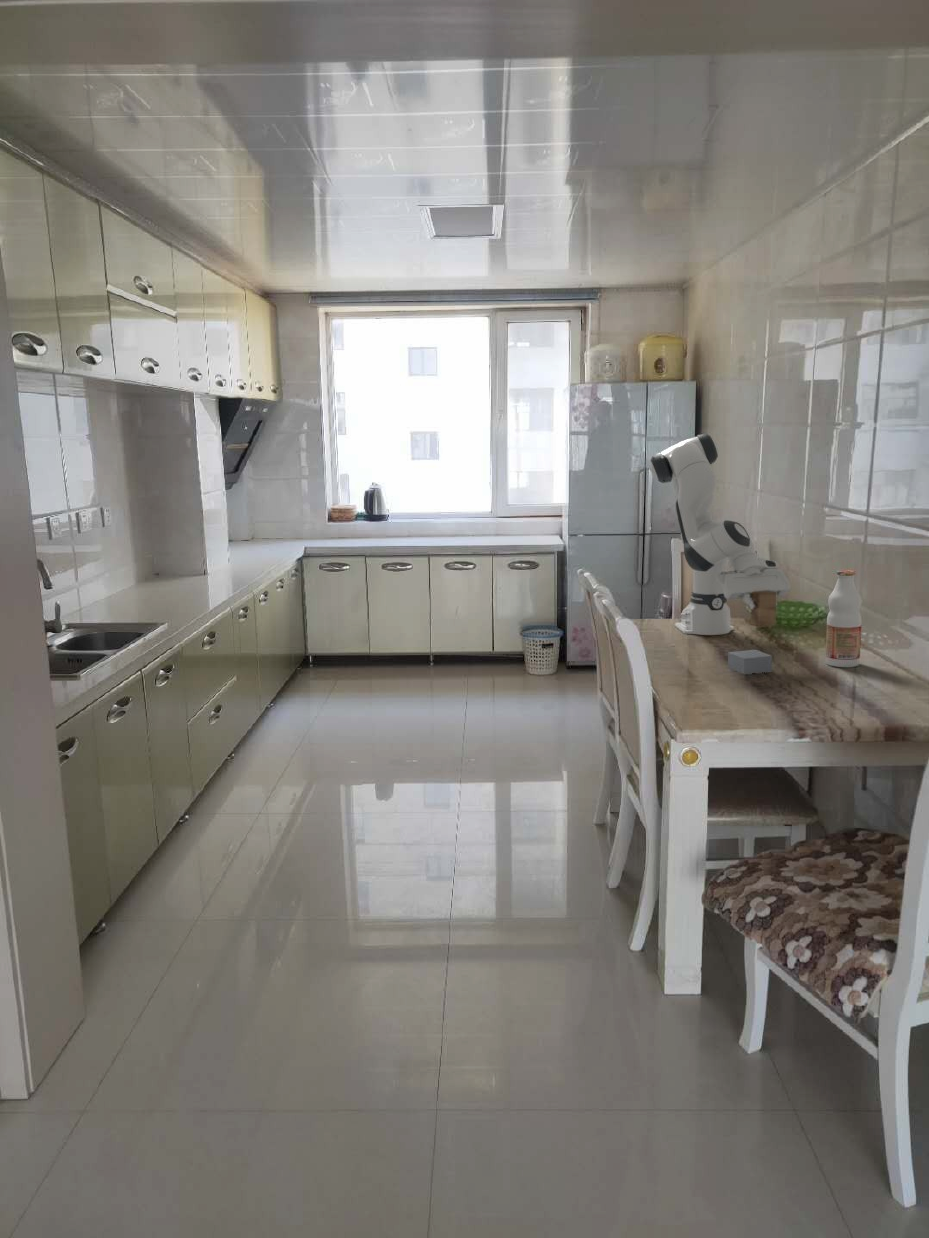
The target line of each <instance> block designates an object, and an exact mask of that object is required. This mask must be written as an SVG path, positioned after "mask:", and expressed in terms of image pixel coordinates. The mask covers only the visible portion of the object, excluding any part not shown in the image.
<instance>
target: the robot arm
mask: <svg viewBox="0 0 929 1238" xmlns="http://www.w3.org/2000/svg"><path fill="white" fill-rule="evenodd" d="M718 450H719V449H718V445H717V443H716V441H715V440H714V439H713V437H712V436H711V435H710V434H708V433H702V434H701V433H700V434H697V435H696V436H693V437H690V438H687V439H684V440H683V439H682V440H681V441H678V442H677V443H675V444H673V445H671V446H669V447H667V448H665V449H663V450H662V451H658V452H656V453H655V454H653V455H652V456H651V458H650V470H651V473H652V476H654V478H655V479H656V480H657V481H658V482H660V483H661V484H666V483H671V482H672V484H673V488H674V491H675V494H676V496H677V498H676V501H675V509H676V514H677V521H678V525H679V529H680V540H681V543H682V544H683V555H684V557H685V561H686V563H687V564H688V566H689V568H691V569H692V570H693V572H692V573H693V580H692V581H693V582H692V584H693V586H692V588H693V589H692V592H691V594H690V601H689V603H688V605H686V607H684V608H683V610H682V612H681V613H680V614H679V618H680V620H681V621H679V622H675V623H674V627H675V628H677V629H678V630H679V631H680V632H682V633H683V634H686V635H698V636H699V635H701V636H718V635H725V634H729V633H731V631H733V630H735V627H734V625H732V621H731V610H730V606H729V605H727V602H728V600H730V601H731V600H742V601H743V602H744V603H745V604H746V605H748V606H749V608H750V610H751V609H756V608H757V607H758V605H757V603H756V601H752V593H753V591H764V590H770V591H774V592H776V599H777V598H778V597H783V596H786V595H787V594H788V592H789V591H790V590H791V584H790V582H789V579H788V578H787V576H786V574H785V573H784V572H783V571H782V570H781V569H779V568H780V564H779V563H778V562H777V561H775V560H769V559H767V558H766V559H765V558H762V557H759V554H758V553H757V552H756V551H755V544H754V543H753V541H752V539H751V537H750V535H749V534H748V531H747V530H746V528H745V527H744V526H743V525H742V524H741V523H739V522H737V521H733V520H726V519H725V520H723V521H722V522H719V521H715V520H713V517H712V508H713V507H714V504H715V498H714V496H713V492H714V490H715V487H716V483H717V481H716V476H715V472H714V469H713V468H712V466H711V465H712V464H714V463H715V462H716V461H717V459H718V457H719V454H718V453H719V451H718ZM728 564H729V565H730V566H729V565H728ZM728 566H729V567H730V571H727V569H728ZM777 607H778V602H777V601H776V608H777Z"/></svg>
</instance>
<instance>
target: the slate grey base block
mask: <svg viewBox="0 0 929 1238" xmlns="http://www.w3.org/2000/svg"><path fill="white" fill-rule="evenodd" d="M727 668H728V669H729V670H732V669H733V671H734V670H735V672H736V671H737V673H739V674H741V673H742V674H741V675H743V674H744V675H743V676H745V675H746V674H747V675H753V674H752V673H756V674H765V673H771V672H772V670H773V669H772V668H773V655H772V654H768V653H766V652H763V651H760V650H757V649H749V650H746V649H745V650H738V651H728V652H727ZM762 672H763V673H762ZM764 672H765V673H764Z"/></svg>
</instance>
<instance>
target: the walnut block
mask: <svg viewBox="0 0 929 1238" xmlns="http://www.w3.org/2000/svg"><path fill="white" fill-rule="evenodd" d="M751 600H752V601H756V603H757V605H758V607H757V608H756V609H750V610H751V611H750V624H751V625H753V626H755V627H759V628H764V627H765V628H766V627H776V620H777V619H776V617H777V614H776V613H777V607H776V602H777V598H776V592H774V591H770V590H764V591H753V593H752V598H751Z"/></svg>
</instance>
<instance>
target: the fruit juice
mask: <svg viewBox="0 0 929 1238" xmlns="http://www.w3.org/2000/svg"><path fill="white" fill-rule="evenodd" d="M855 576H856V571H855V570H853V569H839V570H837V571H836V577H837V579H836V583H835V585H834V588H833V590H832V592H831V593H830V594H829V596H828V600H827V601H828V602H827V603H828V607H829V612H828V614H827V618H826V636H825V637H826V641H825V643H826V644H825V663H826V664H827V665H828V666H831V667H836V668H854V667H858V666H859V665H860V661H861V644H862V643H861V641H862V614H861V611H860V610H861V607H862V604H863V601H862V599H863V598H862V596H861V594H860V593H859V592H858V591H859V590H858V589H857V587H856V582H855Z"/></svg>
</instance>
